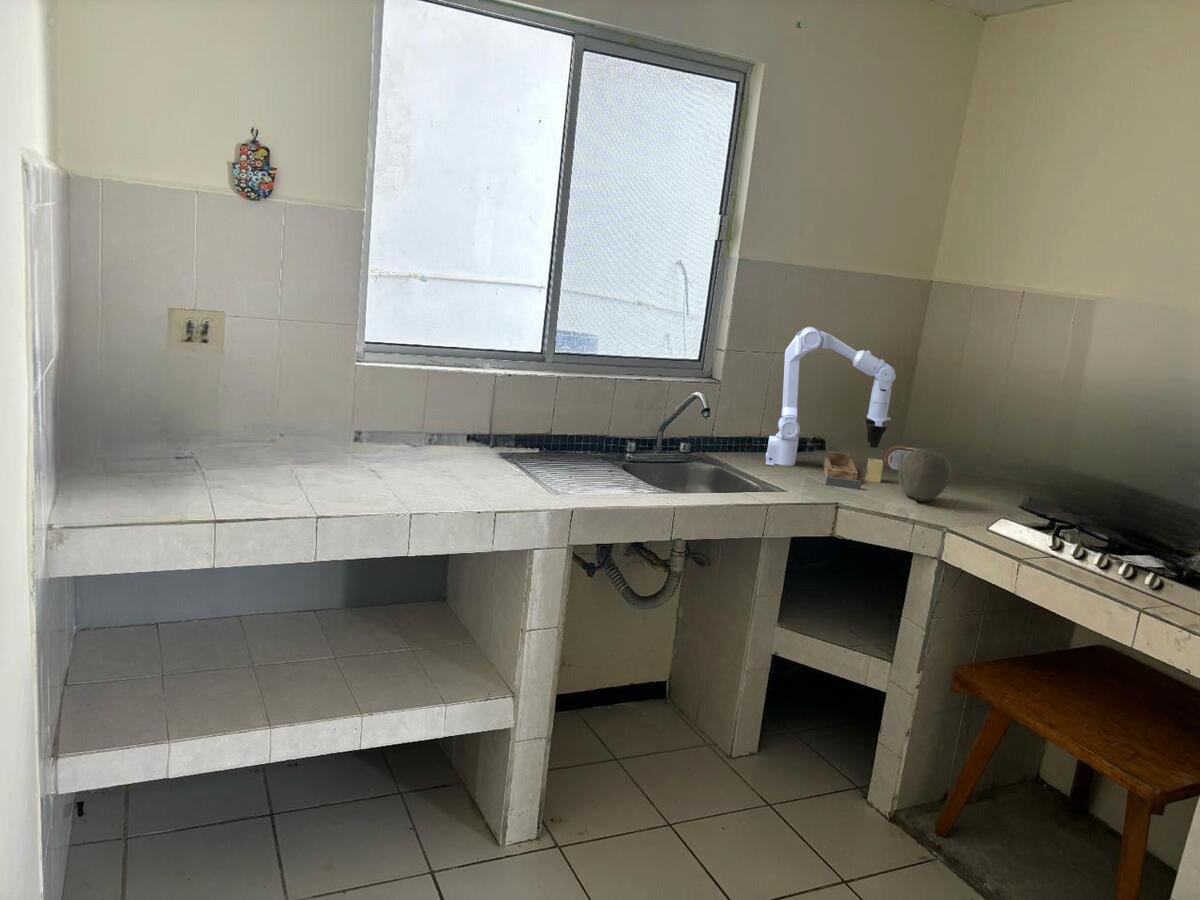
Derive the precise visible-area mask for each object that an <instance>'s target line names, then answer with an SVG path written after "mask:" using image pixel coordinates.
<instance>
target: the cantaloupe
mask: <svg viewBox="0 0 1200 900" xmlns="http://www.w3.org/2000/svg"><path fill="white" fill-rule="evenodd" d="M952 473H953V469H952V466H951V463H950V461H949V459H948V458H947V457H946V456H945V454H943V453H941V452H939V451H937V450H933V449H930V448H929V449H928V448H921V449H917V450H914V451H912V452H911V453H910V454H908V455H907V456H906V458H905V459H904V460H903V462H902V464H901V466H900V469H899V471H898V473H897V474H898V475H897V477H898V478H897V479H898V483H899V486H900V489H901V491H902V492H903V493H904V494H905V495H906V496H907V497H909V498H911V499H913V500H914V501H916V502H921V503H922V502H928V501H931V500H934V499H936V498H937V497H938V496H940V495H941V494H942V493H943V492H944V490H945V489H946V488H947V486H948V484H949V483H950V481H951V478H952Z"/></svg>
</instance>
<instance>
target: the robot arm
mask: <svg viewBox="0 0 1200 900" xmlns="http://www.w3.org/2000/svg"><path fill="white" fill-rule="evenodd" d="M796 333H797V334H795V337H794V338H793V339H792V341H791V342H790V343H789V344H788V346H787V347H786V349H785V351H784V366H783V367H784V370H783V387H782V408H781V416H780V418H779V419H778V422H777V427H778V432H777V433H776V434H775V435H769V436H768V443H767V444H768V445H767V449H766V450H767V451H766V453H765V465H767V466H775V464H776V465H780V466H795V465H796V460H797V451H798V446H799V438H800V437H799V436H798V435H799V434H800V431H801V427H800V425H799V422H798V401H799V400H798V399H799V398H798V396H799V378H800V361H801V359H802V358H803V356H805V355H806V354H808V353H809V352H812V351H814V350H816V349H818V348H819V347H820V348H821V349H832V350H833V351H835V352H836V353H839V354H840V355H843V356H844V357H846V358H847V359H849V360H851V361H852V365H853V367H854V368H856V369H857V370H859V371H861V372H862V373H864V374H866V375H868V376H869V377H873V378H874V379H873V384H872V385H873V386H872V389H871V393H870V394H871V395H870V400H869V406H868V413H867V414H866V419H865V420H864V421H865V424H866V429H867V432H866V433H867V443H869V446H870V448H875V449H877V448H878V447H879V445H880V442H881V439H882V437H883V435H884V434H885V432H886V430H888V427H887V426H884V423H885V422H886V421H891V419H892V418H891V417H889V416H888V412H889V406H890V401H891V394H892V388H893V387H892V386H893V382H894V381H895V379H896V376H897V375H896V371H895V368H894V367H892V366H891V365H890V364H889V363H887V362H885V360H884V359H883V358H881V359H879V358H878V357H876V356H875V355H873V354H872V352H871V351H869V350H863V349H862V350H856V349H854V348H853V347H850V346H849V345H848V344H846V343H844V342H843V341H842V340H840V339H838V338H837V337H835V336H833V335H832V334H829V333H827V332H824V331H822V330H818V329H817V328H815V327H814V326H813V327H812V326H806V327H804V328H803V329H801V330H800V331H799V332H796Z"/></svg>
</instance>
